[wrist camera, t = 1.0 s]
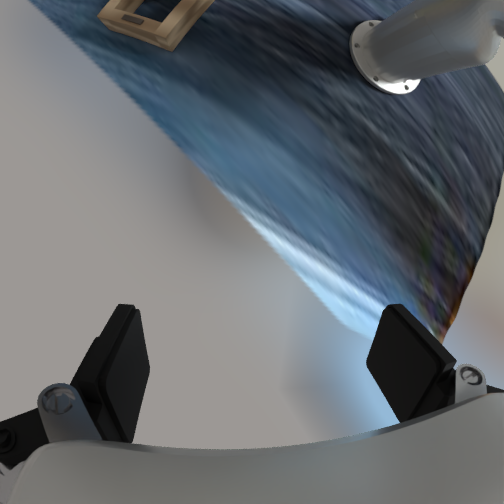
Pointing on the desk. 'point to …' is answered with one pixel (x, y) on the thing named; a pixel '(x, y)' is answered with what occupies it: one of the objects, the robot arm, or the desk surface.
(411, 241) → the desk surface
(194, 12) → the wooden box
